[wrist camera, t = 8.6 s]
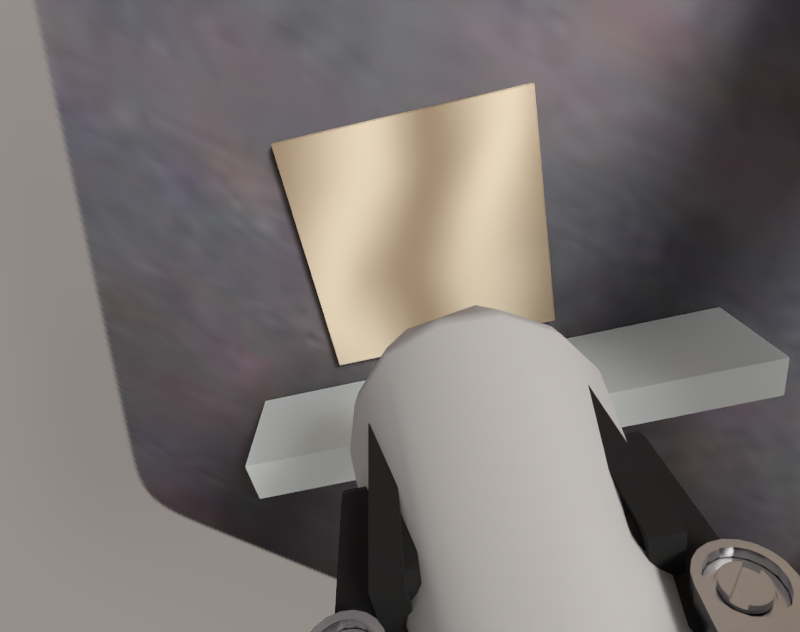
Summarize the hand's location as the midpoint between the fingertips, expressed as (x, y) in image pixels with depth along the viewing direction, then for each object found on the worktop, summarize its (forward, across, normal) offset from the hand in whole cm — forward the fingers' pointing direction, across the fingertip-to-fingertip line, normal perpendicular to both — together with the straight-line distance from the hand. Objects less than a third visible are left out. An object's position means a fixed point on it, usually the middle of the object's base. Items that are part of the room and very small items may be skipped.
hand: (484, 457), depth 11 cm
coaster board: (+15, 0, 0) cm, 15 cm away
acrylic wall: (+15, -2, +8) cm, 17 cm away
